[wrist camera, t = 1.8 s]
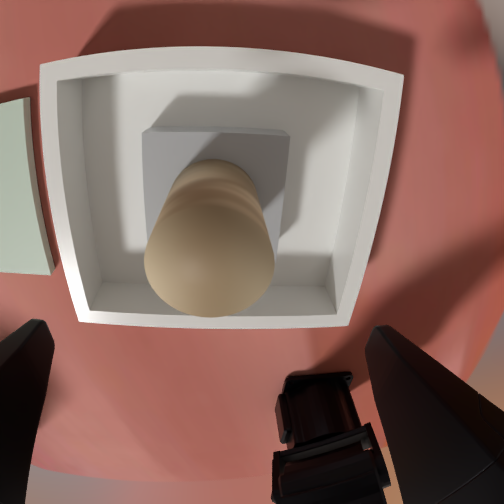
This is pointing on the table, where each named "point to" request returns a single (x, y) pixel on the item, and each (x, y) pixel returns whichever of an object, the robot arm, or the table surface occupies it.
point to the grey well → (224, 148)
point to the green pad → (20, 196)
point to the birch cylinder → (210, 242)
